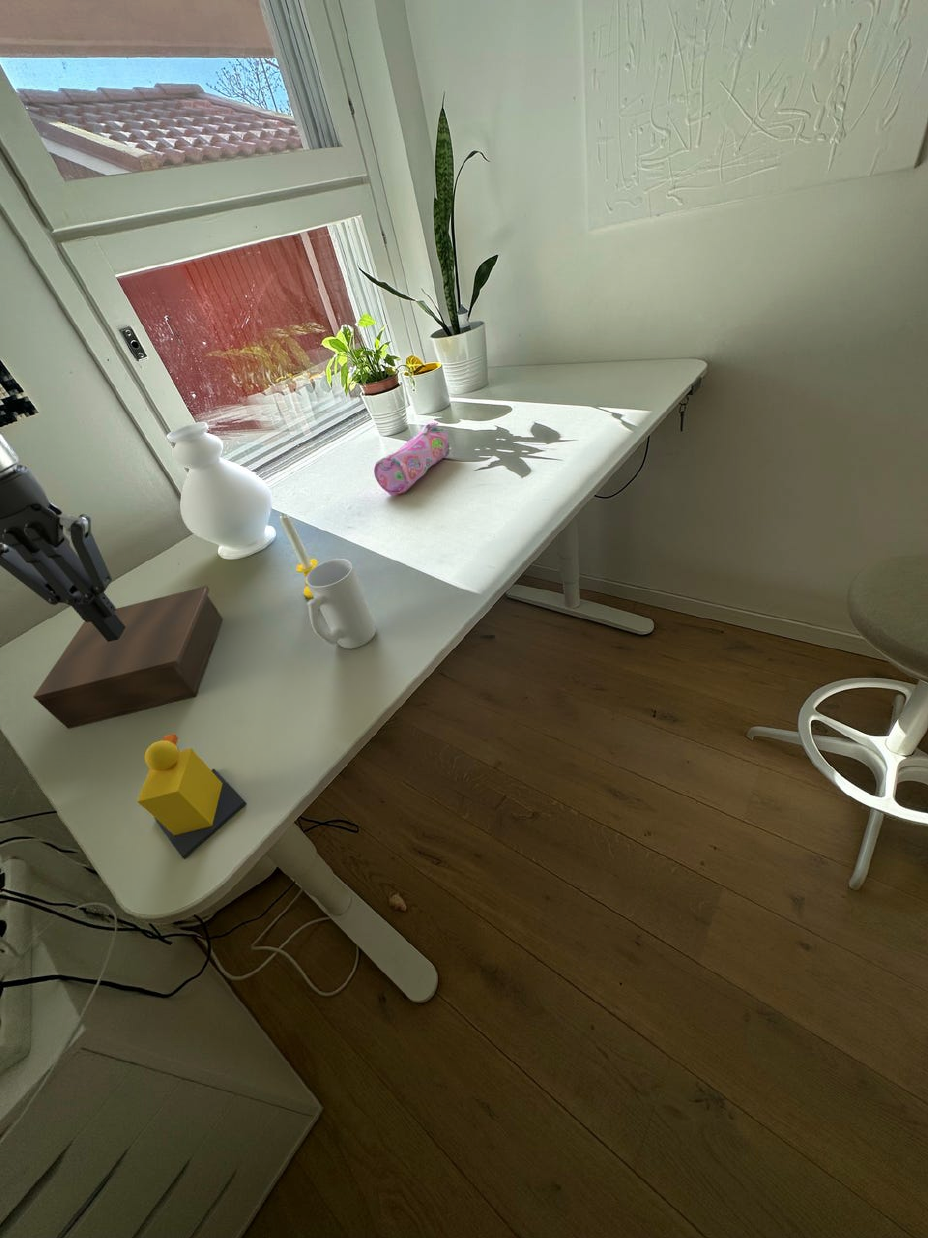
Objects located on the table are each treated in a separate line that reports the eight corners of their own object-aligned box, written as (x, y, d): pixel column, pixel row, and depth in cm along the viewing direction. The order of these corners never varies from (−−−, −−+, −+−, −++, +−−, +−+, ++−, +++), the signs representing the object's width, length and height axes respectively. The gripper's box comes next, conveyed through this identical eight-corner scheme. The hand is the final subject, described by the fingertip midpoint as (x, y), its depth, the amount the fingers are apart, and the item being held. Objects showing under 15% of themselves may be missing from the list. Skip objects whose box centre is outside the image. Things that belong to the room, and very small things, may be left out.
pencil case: (426, 455, 131) (417, 419, 125) (457, 455, 126) (449, 419, 120) (377, 496, 117) (365, 458, 112) (410, 499, 113) (398, 460, 107)
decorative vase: (282, 513, 121) (231, 404, 105) (293, 545, 108) (236, 426, 92) (206, 540, 118) (142, 433, 102) (207, 577, 104) (133, 459, 89)
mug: (351, 618, 84) (324, 556, 76) (385, 623, 81) (361, 560, 74) (314, 661, 78) (281, 599, 70) (350, 669, 75) (319, 605, 67)
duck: (174, 835, 58) (119, 785, 52) (190, 782, 64) (142, 731, 57) (212, 826, 58) (161, 775, 52) (225, 773, 64) (180, 721, 57)
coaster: (184, 859, 56) (181, 857, 56) (156, 819, 61) (153, 817, 61) (246, 803, 60) (244, 801, 60) (215, 770, 65) (213, 768, 65)
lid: (209, 589, 88) (207, 585, 87) (179, 664, 73) (175, 660, 72) (91, 619, 88) (88, 615, 87) (36, 700, 73) (32, 697, 72)
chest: (223, 618, 92) (204, 590, 88) (196, 696, 77) (172, 666, 73) (114, 646, 92) (91, 619, 88) (67, 729, 77) (37, 701, 73)
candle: (321, 578, 95) (286, 502, 86) (338, 585, 92) (304, 507, 83) (298, 594, 93) (260, 518, 83) (315, 602, 90) (277, 524, 80)
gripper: (58, 449, 60) (170, 607, 75) (-50, 477, 60) (83, 629, 75) (25, 475, 54) (153, 640, 69) (-95, 505, 54) (59, 664, 69)
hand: (116, 634), depth 72 cm, fingers closed
